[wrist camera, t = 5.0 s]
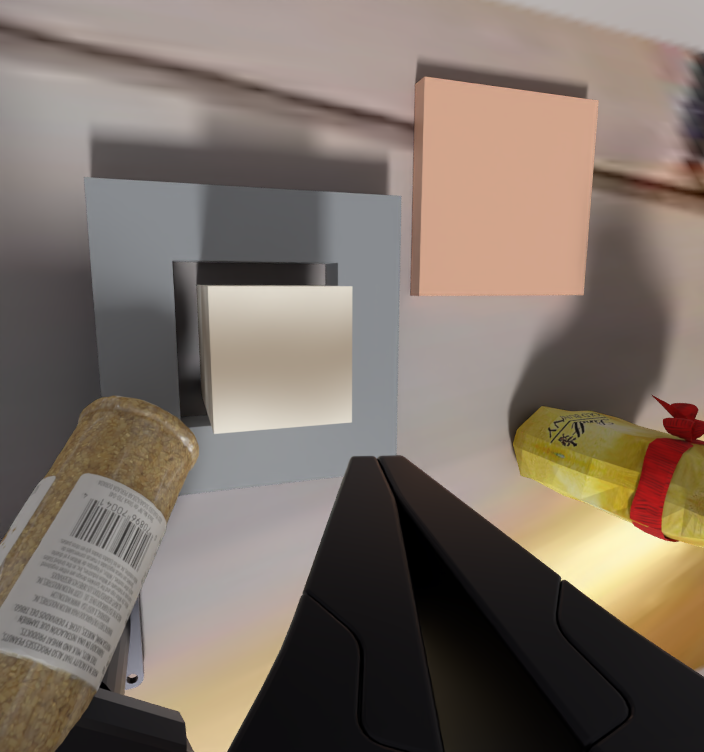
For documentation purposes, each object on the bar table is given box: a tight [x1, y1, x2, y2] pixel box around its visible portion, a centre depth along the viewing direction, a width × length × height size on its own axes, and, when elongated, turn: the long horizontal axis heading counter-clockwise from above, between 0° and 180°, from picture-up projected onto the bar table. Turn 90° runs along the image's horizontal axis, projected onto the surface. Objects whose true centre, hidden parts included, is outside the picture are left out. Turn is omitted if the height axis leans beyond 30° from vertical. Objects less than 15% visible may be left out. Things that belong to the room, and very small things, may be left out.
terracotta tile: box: [411, 77, 599, 296], centre depth 28 cm, size 10×10×1 cm
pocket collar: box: [84, 177, 401, 496], centre depth 24 cm, size 13×13×2 cm
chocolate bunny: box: [513, 395, 704, 547], centre depth 26 cm, size 7×11×15 cm, turn 74°
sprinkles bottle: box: [0, 396, 199, 752], centre depth 16 cm, size 5×5×14 cm
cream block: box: [196, 285, 352, 434], centre depth 22 cm, size 5×5×7 cm
